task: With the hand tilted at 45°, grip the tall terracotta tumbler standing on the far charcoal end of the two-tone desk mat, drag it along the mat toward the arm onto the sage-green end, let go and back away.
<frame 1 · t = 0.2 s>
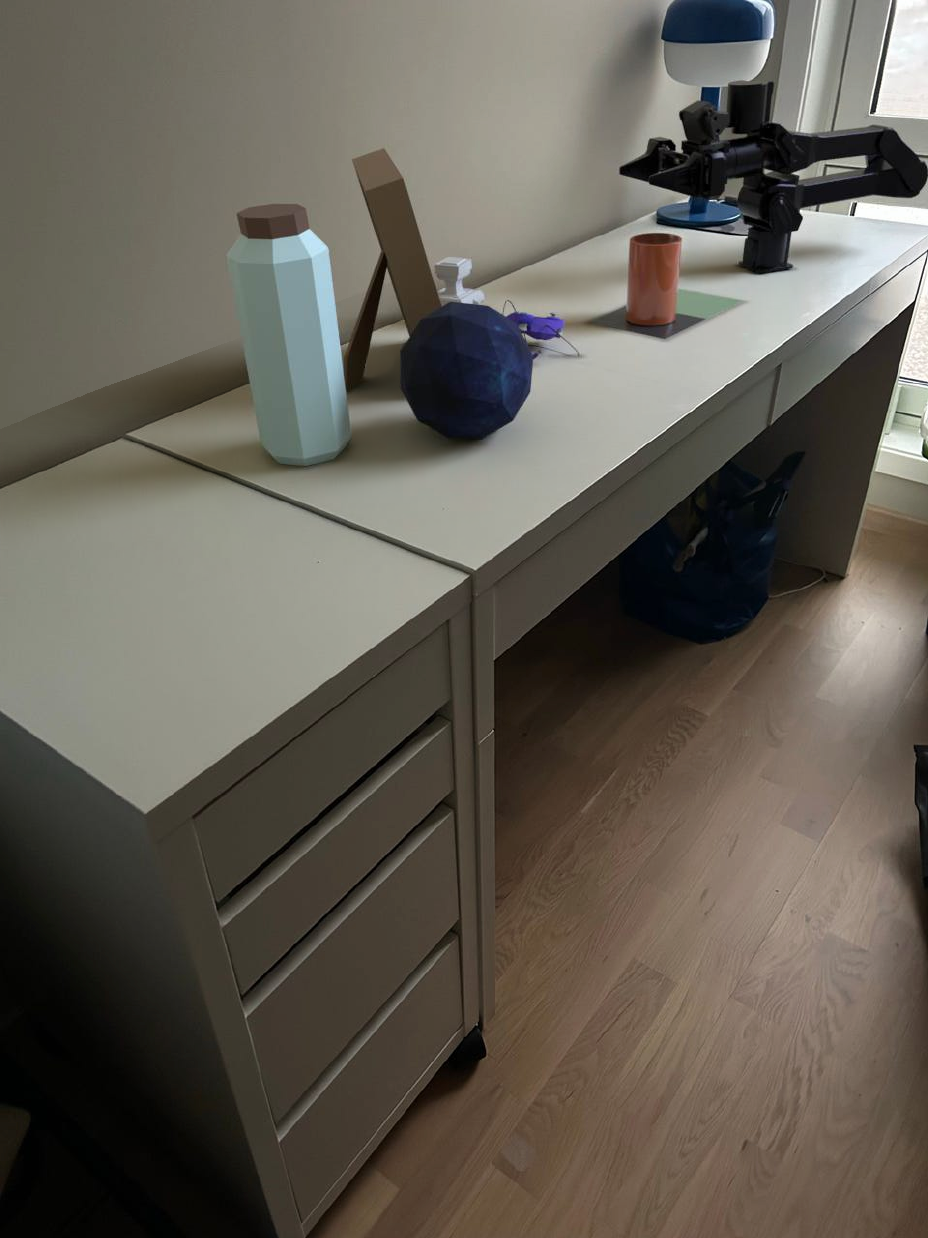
hand: (634, 175, 141), 17 cm above the table, tool horizontal, fingers open, 9 cm apart
stamp: (455, 320, 142), on the table
desk mat: (666, 312, 139), on the table
water bottle: (308, 451, 105), on the table
decorative orb: (469, 433, 107), on the table
tumbler: (650, 318, 137), resting on desk mat
photo frame: (397, 371, 125), on the table
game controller: (538, 355, 127), on the table
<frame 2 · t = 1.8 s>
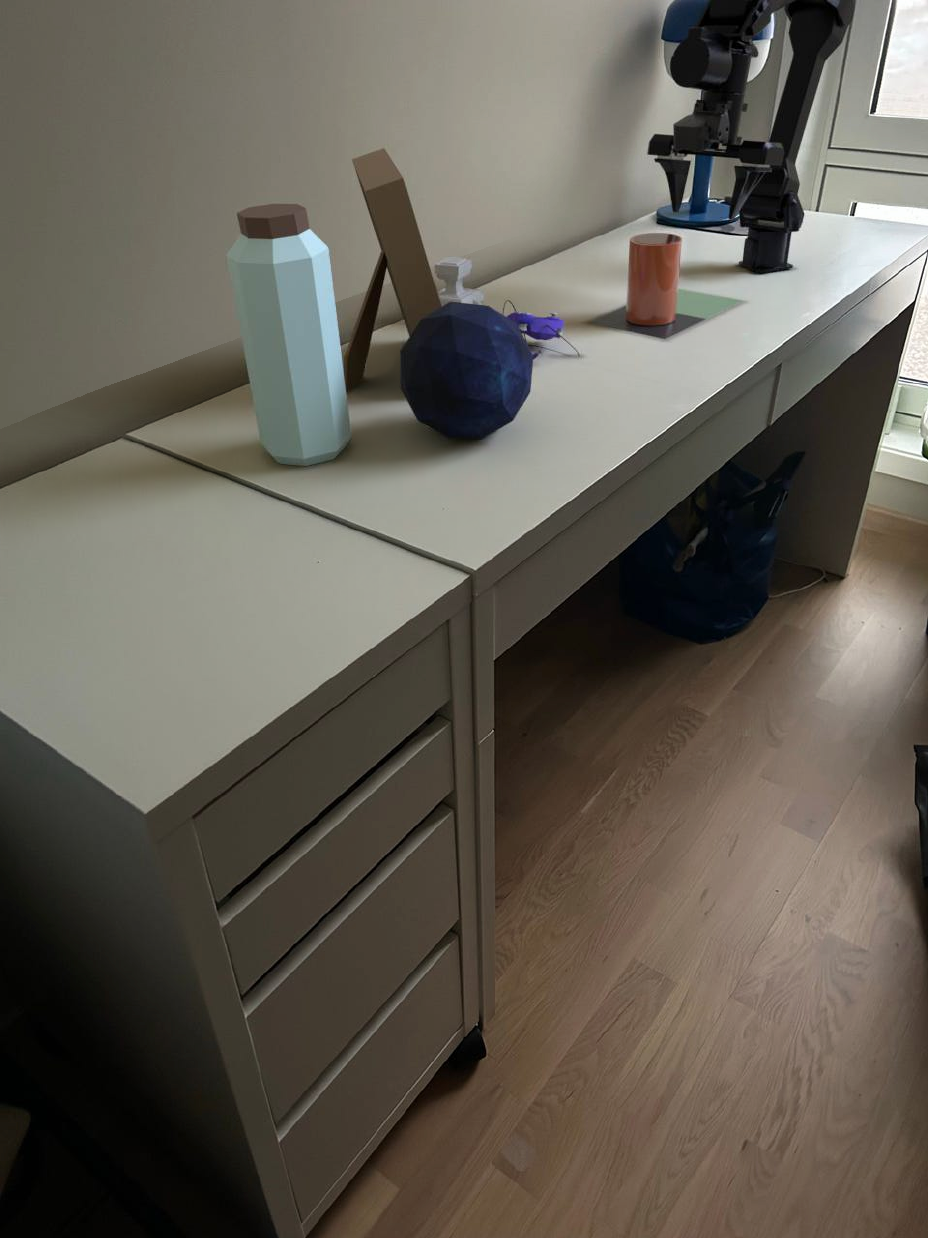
hand: (702, 215, 137), 12 cm above the table, tool pointing down, fingers open, 9 cm apart
nothing on the table moved.
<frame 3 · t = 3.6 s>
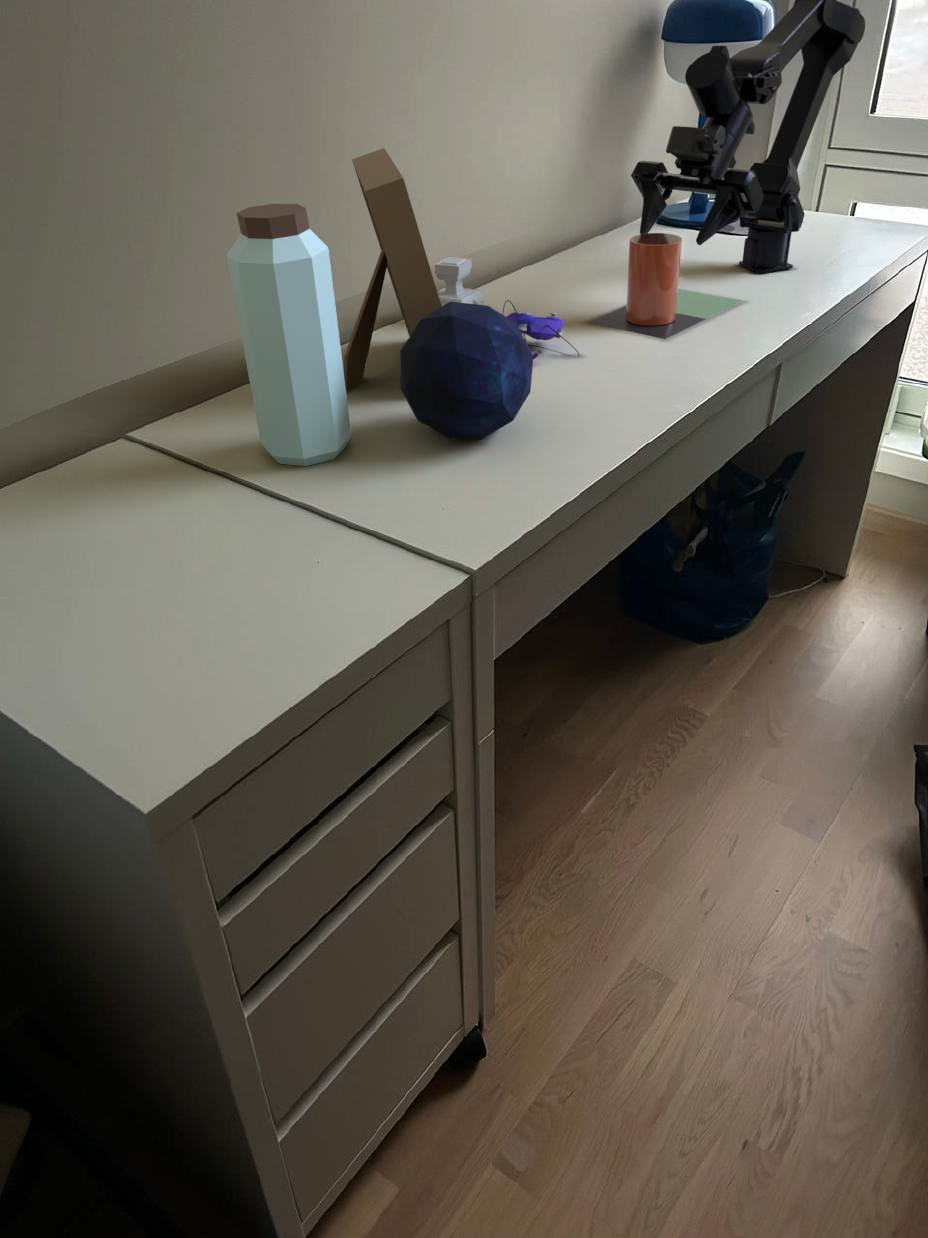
hand: (669, 238, 133), 10 cm above the table, tool tilted 45°, fingers open, 9 cm apart
nothing on the table moved.
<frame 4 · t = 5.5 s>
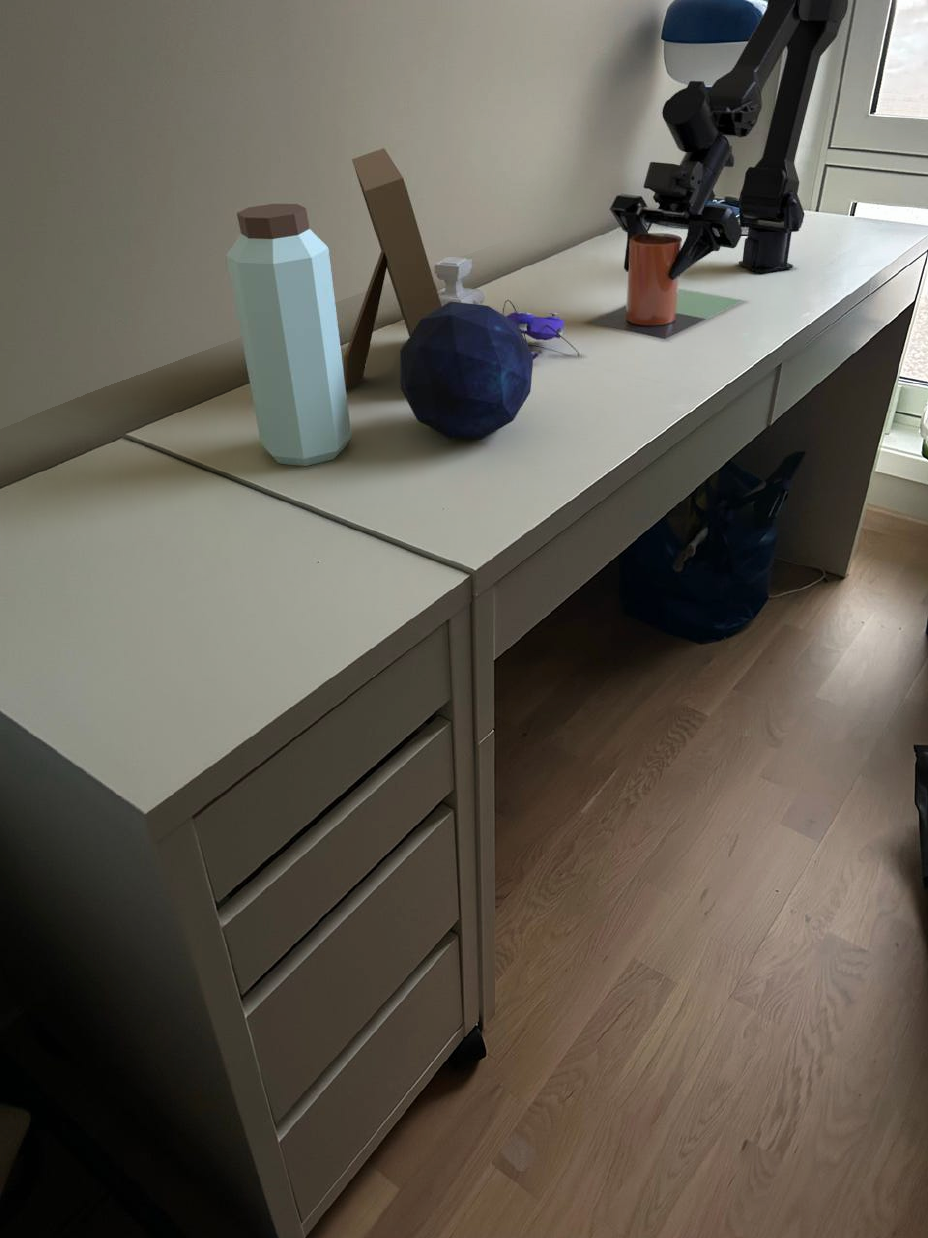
hand: (647, 273, 132), 7 cm above the table, tool tilted 45°, fingers closed on tumbler, 7 cm apart
tumbler: (650, 318, 137), resting on desk mat, touching gripper
everything else where it was.
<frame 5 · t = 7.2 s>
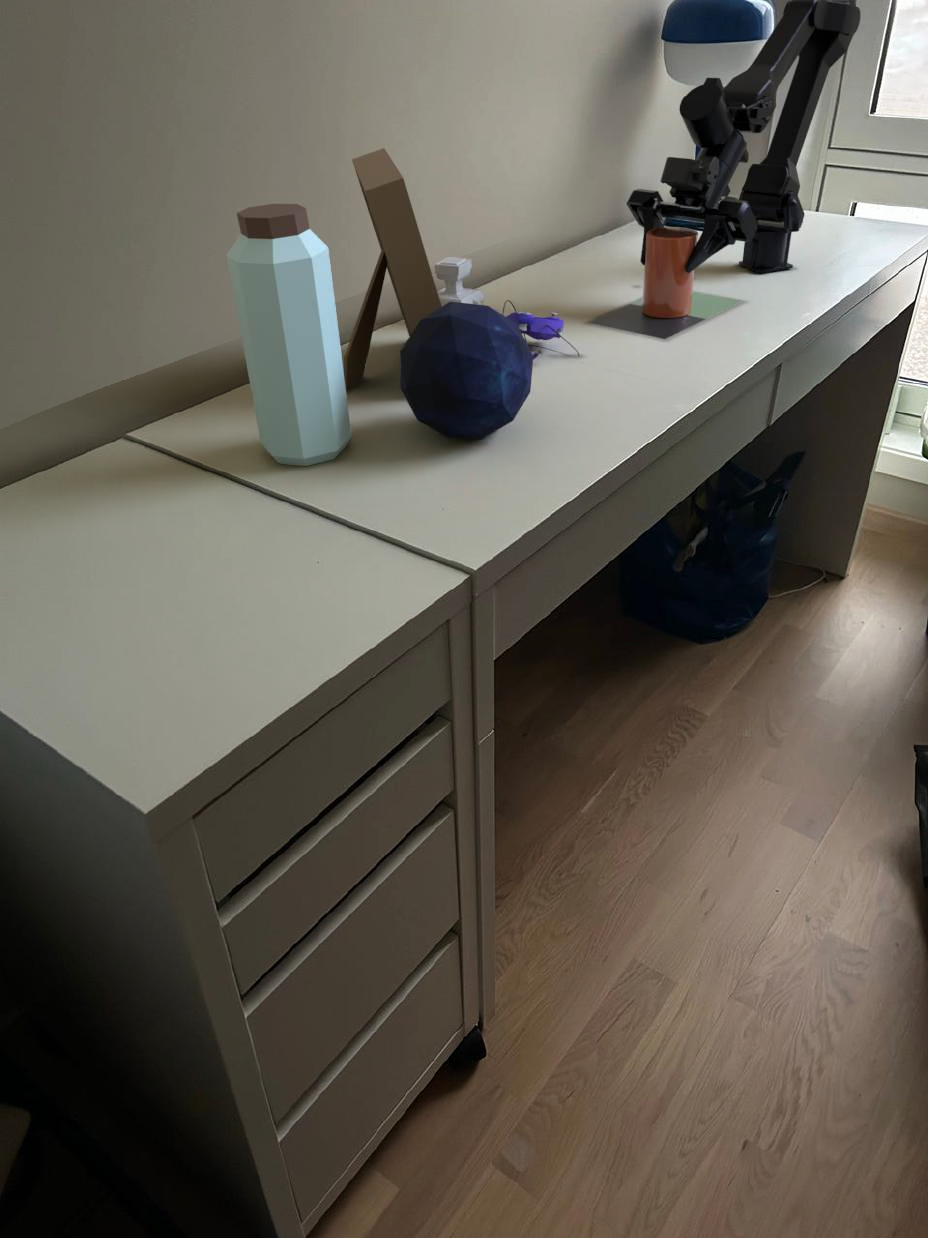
hand: (664, 267, 134), 7 cm above the table, tool tilted 45°, fingers closed on tumbler, 7 cm apart
tumbler: (666, 311, 139), resting on desk mat, touching gripper
everything else where it was.
when the fingers open (7 cm above the table, at t = 8.9 s): tumbler stays where it is, resting on desk mat.
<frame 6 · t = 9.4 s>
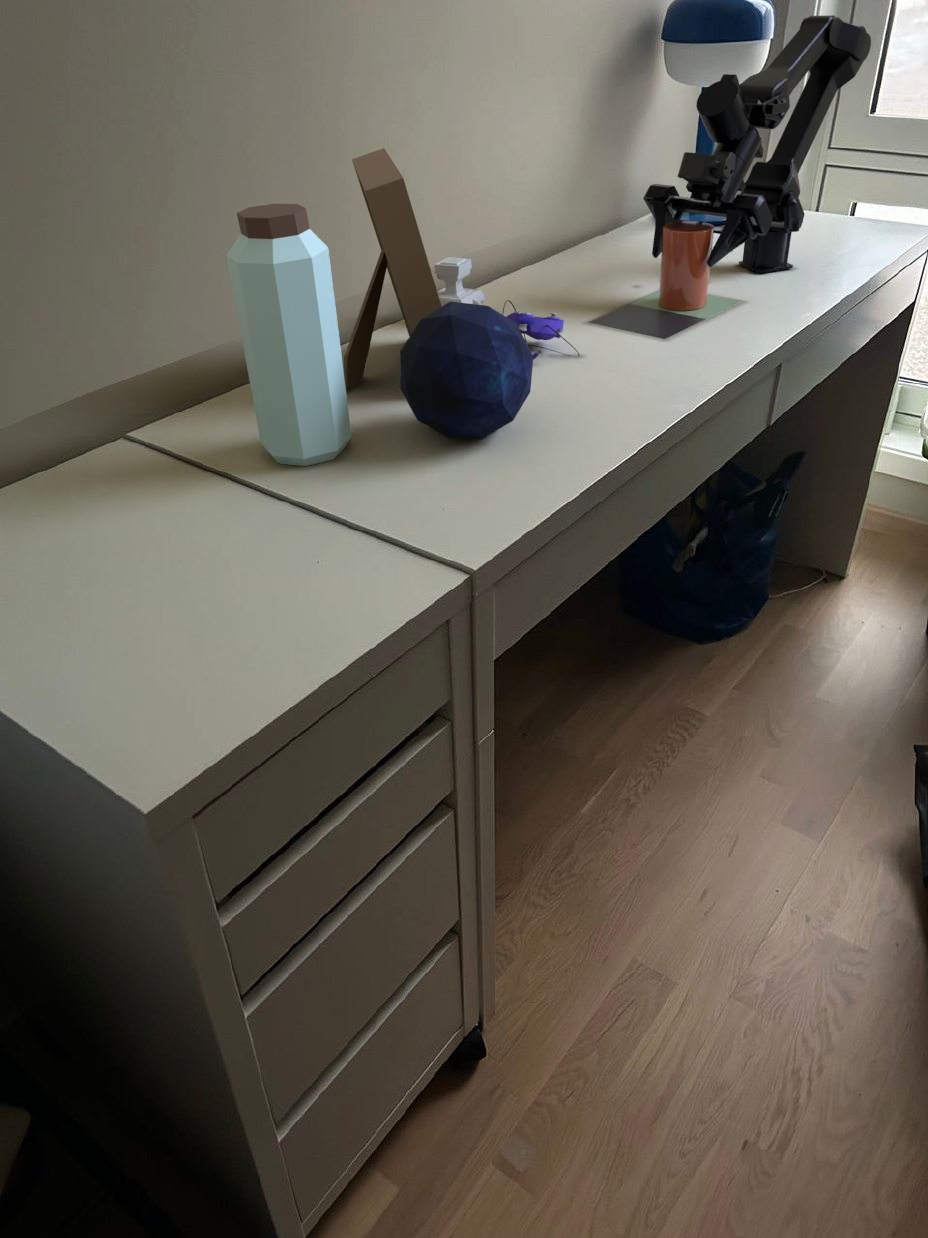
hand: (680, 260, 137), 7 cm above the table, tool tilted 45°, fingers open, 9 cm apart
tumbler: (682, 304, 141), resting on desk mat
everything else where it was.
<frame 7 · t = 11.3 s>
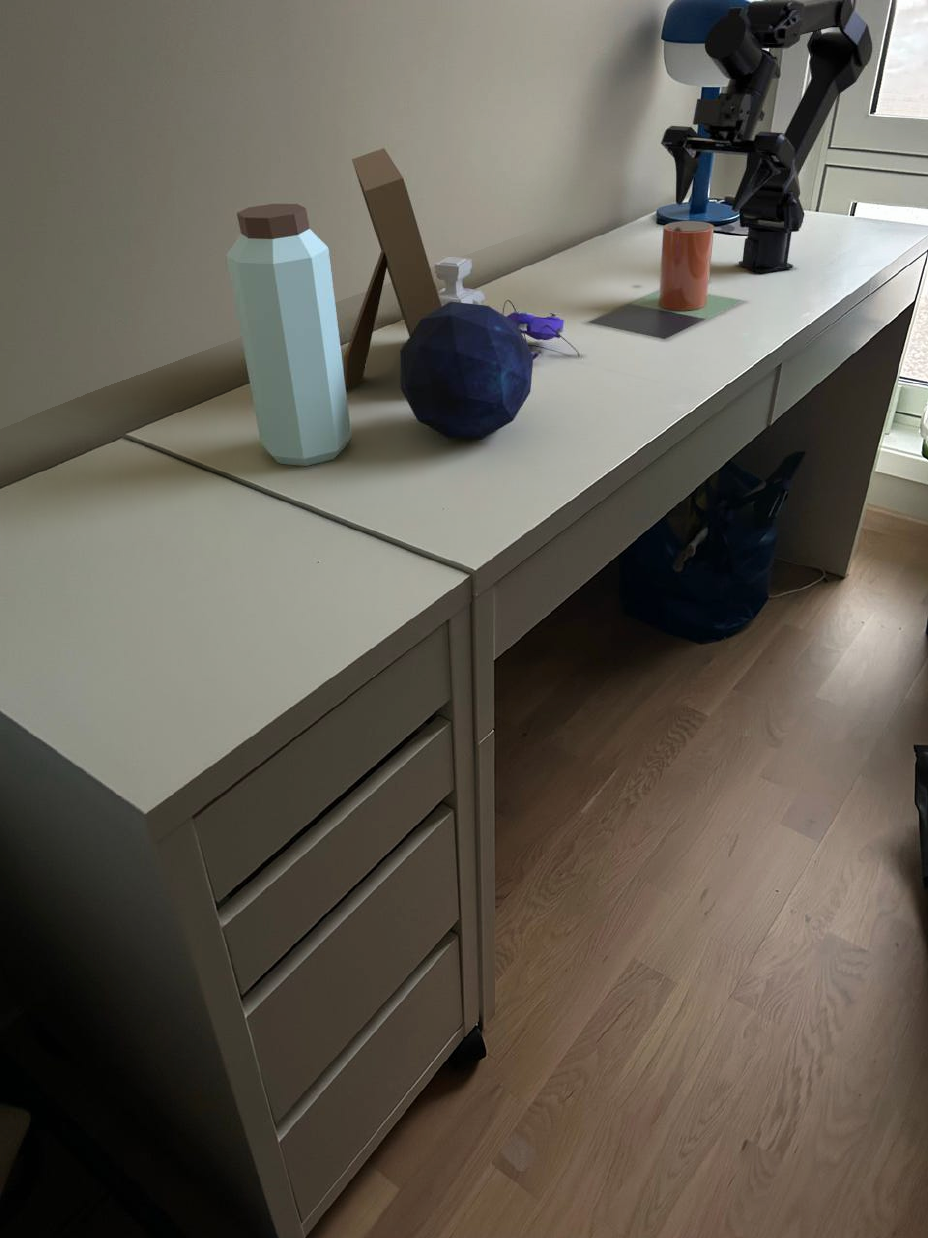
hand: (705, 207, 137), 13 cm above the table, tool tilted 30°, fingers open, 9 cm apart
nothing on the table moved.
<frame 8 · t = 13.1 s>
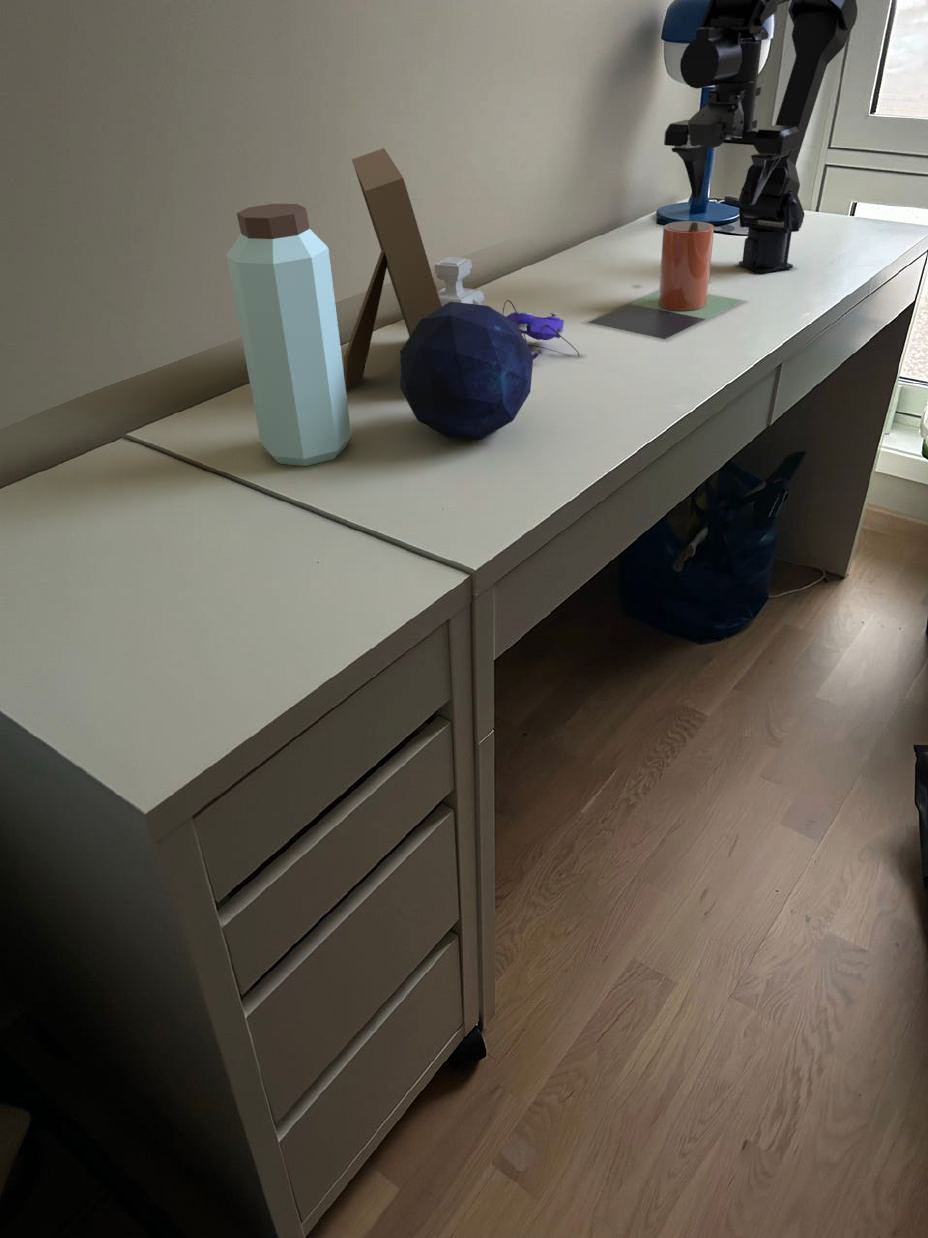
hand: (723, 200, 140), 13 cm above the table, tool pointing down, fingers open, 9 cm apart
nothing on the table moved.
at the end: tumbler 0.0 cm from the target spot, resting on desk mat; tumbler tilted 0°; the gripper is holding nothing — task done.
